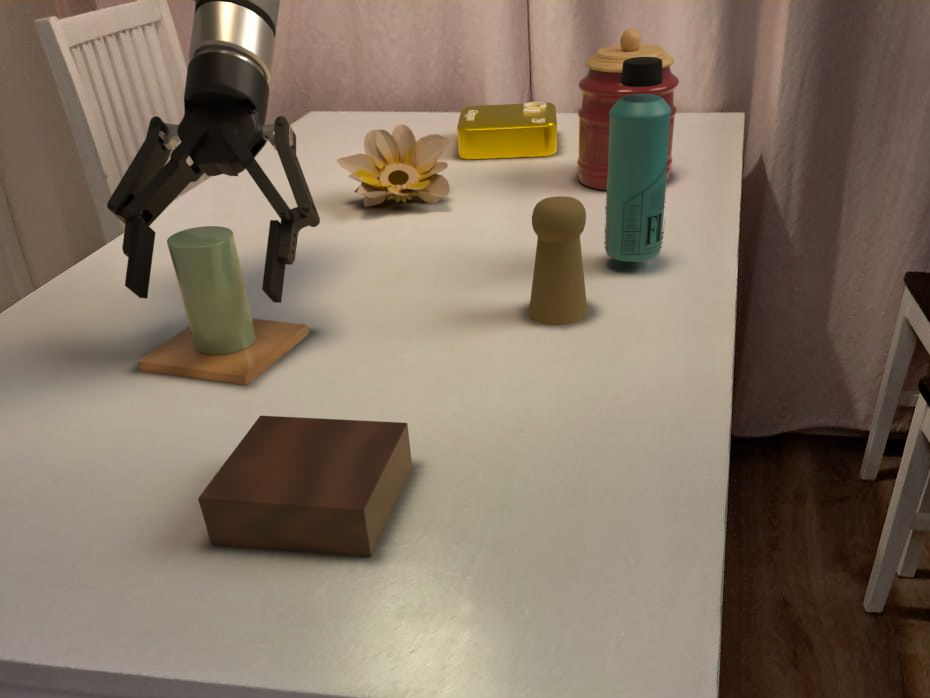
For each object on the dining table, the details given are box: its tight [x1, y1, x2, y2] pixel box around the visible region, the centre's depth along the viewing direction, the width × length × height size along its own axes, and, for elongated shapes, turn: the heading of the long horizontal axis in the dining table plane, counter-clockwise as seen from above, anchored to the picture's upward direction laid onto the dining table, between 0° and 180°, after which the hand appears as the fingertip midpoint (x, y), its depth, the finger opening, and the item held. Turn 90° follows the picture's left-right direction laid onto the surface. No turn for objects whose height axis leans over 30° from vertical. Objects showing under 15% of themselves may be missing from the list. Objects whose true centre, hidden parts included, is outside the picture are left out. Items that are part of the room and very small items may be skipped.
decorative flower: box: [336, 123, 450, 208], centre depth 121 cm, size 15×11×10 cm
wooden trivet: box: [137, 317, 310, 386], centre depth 91 cm, size 12×12×1 cm
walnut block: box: [197, 415, 413, 558], centre depth 68 cm, size 12×12×4 cm
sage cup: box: [166, 225, 256, 355], centre depth 87 cm, size 6×6×10 cm
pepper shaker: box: [528, 195, 588, 326], centre depth 91 cm, size 6×6×11 cm
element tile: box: [456, 101, 558, 161], centre depth 143 cm, size 15×15×5 cm
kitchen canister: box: [576, 28, 680, 191], centre depth 122 cm, size 13×13×18 cm
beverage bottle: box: [603, 57, 671, 262], centre depth 97 cm, size 6×7×20 cm
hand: (202, 294), depth 86 cm, fingers open, 13 cm apart
